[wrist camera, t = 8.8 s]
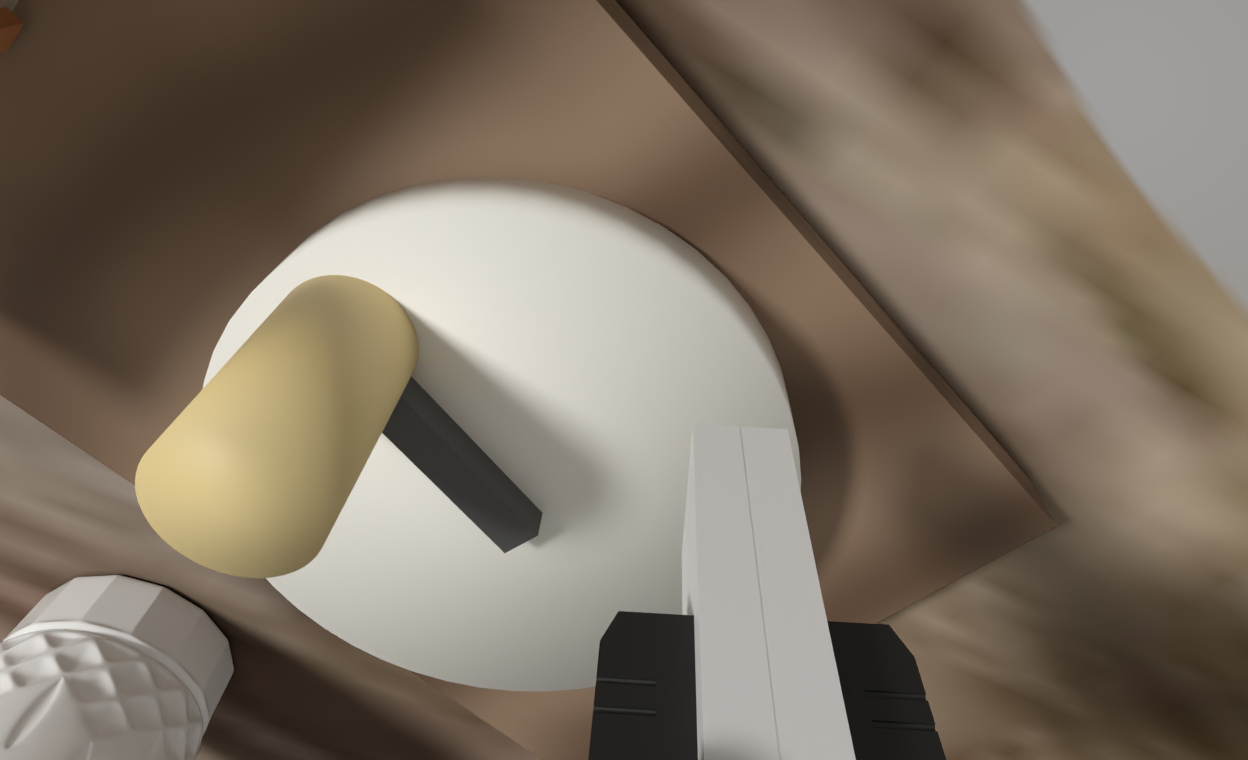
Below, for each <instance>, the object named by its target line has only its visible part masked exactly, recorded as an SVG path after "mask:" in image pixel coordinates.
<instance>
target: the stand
mask: <svg viewBox="0 0 1248 760" xmlns="http://www.w3.org/2000/svg"><path fill="white" fill-rule="evenodd" d="M464 177H507V178H516V179H525V180H534V181H543V182H548V183H552V184H556V185H560V186H564V187H569V188H573V189H577V190H581V191H585V192H588V193H591V194H594V195H596V196H599V197H601V198H604V199H607V200H609V201H612V202H615V203H617V204H620V205H623V206H625V207H628V208H629V209H631V210H633V211H635V212H637V213H639V214H641V215H643V216H644V217H646V218H648V219H650V220H652V221H654V222H656V223H658V224H660V225H661V226H663V227H665V228H666V229H668V230H669V231H671V232H672V233H673V234H675V235H676V236H678V237H679V238H680V239H682V240H683V241H685V242H686V243H687V244H689V245H690V246H692V247H693V248H695V249H696V250H697V251H698V252H699V253H701V254H702V255H703V256H704V257H705V258H706V259H707V260H708V261H709V262H710V263H711V264H712V265H713V266H715V267H716V268H717V269H718V270H719V271H720V272H721V273H722V274H723V275H724V276H725V277H726V278H727V279H728V280H729V281H730V283H731V284H732V285H733V286H734V288H735V289H736V290H737V291H738V292H739V294H740V295H741V296H742V297H743V299H744V300H745V301H746V302H747V303H748V305H749V306H750V308H751V309H752V311H753V312H754V314H755V316H756V317H757V319H758V321H759V322H760V324H761V326H762V327H763V329H764V331H765V332H766V334H767V336H768V338H769V340H770V342H771V345H772V347H773V350H774V352H775V355H776V357H777V359H778V362H779V364H780V367H781V370H782V374H783V378H784V382H785V386H786V390H787V394H788V398H789V403H790V408H791V413H792V417H793V422H794V427H795V432H796V437H797V442H798V446H799V456H800V470H801V490H800V492H801V496H802V501H803V506H804V511H805V516H806V521H807V526H808V530H809V535H810V540H811V545H812V550H813V555H814V559H815V564H816V569H817V574H818V579H819V584H820V589H821V593H822V598H823V603H824V608H825V613H826V618H827V621H834V622H851V623H868V624H876V623H878V622H879V621H881V620H883V619H885V618H887V617H889V616H891V615H892V614H894V613H896V612H898V611H900V610H902V609H904V608H905V607H907V606H909V605H911V604H913V603H915V602H917V601H918V600H920V599H922V598H924V597H926V596H928V595H930V594H931V593H933V592H935V591H937V590H939V589H941V588H943V587H944V586H946V585H948V584H950V583H952V582H954V581H956V580H957V579H959V578H961V577H963V576H965V575H967V574H969V573H970V572H972V571H974V570H976V569H978V568H980V567H982V566H983V565H985V564H987V563H989V562H991V561H993V560H995V559H996V558H998V557H1000V556H1002V555H1004V554H1006V553H1008V552H1009V551H1011V550H1013V549H1015V548H1017V547H1019V546H1021V545H1022V544H1024V543H1026V542H1028V541H1030V540H1032V539H1034V538H1035V537H1037V536H1039V535H1041V534H1043V533H1045V532H1047V531H1048V530H1050V529H1052V528H1054V527H1056V524H1055V522H1054V521H1053V519H1052V517H1051V515H1050V514H1049V512H1048V510H1047V508H1046V507H1045V505H1044V503H1043V501H1042V500H1041V498H1040V496H1039V494H1038V493H1037V491H1036V489H1035V487H1034V486H1033V484H1032V482H1031V480H1030V479H1029V478H1028V476H1027V475H1026V474H1025V473H1024V472H1023V471H1022V470H1021V468H1020V467H1019V466H1018V465H1017V464H1016V463H1015V461H1014V460H1013V459H1012V458H1011V457H1010V456H1009V455H1008V453H1007V452H1006V451H1005V450H1004V449H1003V448H1002V446H1001V445H1000V444H999V443H998V442H997V441H996V440H995V438H994V437H993V436H992V435H991V434H990V433H989V431H988V430H987V429H986V428H985V427H984V426H983V425H982V423H981V422H980V421H979V420H978V419H977V418H976V416H975V415H974V414H973V413H972V412H971V411H970V410H969V408H968V407H967V406H966V405H965V404H964V403H963V401H962V400H961V399H960V398H959V397H958V396H957V394H956V393H955V392H954V391H953V390H952V389H951V388H950V386H949V385H948V384H947V383H946V382H945V381H944V379H943V378H942V377H941V376H940V375H939V374H938V373H937V371H936V370H935V369H934V368H933V367H932V366H931V364H930V363H929V362H928V361H927V360H926V359H925V358H924V356H923V355H922V354H921V353H920V352H919V351H918V349H917V348H916V347H915V346H914V345H913V344H912V343H911V341H910V340H909V339H908V338H907V337H906V336H905V334H904V333H903V332H902V331H901V330H900V329H899V328H898V326H897V325H896V324H895V323H894V322H893V321H892V319H891V318H890V317H889V316H888V315H887V314H886V313H885V311H884V310H883V309H882V308H881V307H880V306H879V304H878V303H877V302H876V301H875V300H874V299H873V298H872V296H871V295H870V294H869V293H868V292H867V291H866V289H865V288H864V287H863V286H862V285H861V284H860V282H859V281H858V280H857V279H856V278H855V277H854V276H853V274H852V273H851V272H850V271H849V270H848V269H847V267H846V266H845V265H844V264H843V263H842V262H841V261H840V259H839V258H838V257H837V256H836V255H835V254H834V252H833V251H832V250H831V249H830V248H829V247H828V246H827V244H826V243H825V242H824V241H823V240H822V239H821V237H820V236H819V235H818V234H817V233H816V232H815V231H814V229H813V228H812V227H811V226H810V225H809V224H808V222H807V221H806V220H805V219H804V218H803V217H802V216H801V214H800V213H799V212H798V211H797V210H796V209H795V207H794V206H793V205H792V204H791V203H790V202H789V201H788V199H787V198H786V197H785V196H784V195H783V194H782V192H781V191H780V190H779V189H778V188H777V187H776V185H775V184H774V183H773V182H772V181H771V180H770V179H769V177H768V176H767V175H766V174H765V173H764V172H763V170H762V169H761V168H760V167H759V166H758V165H757V164H756V162H755V161H754V160H753V159H752V158H751V157H750V155H749V154H748V153H747V152H746V151H745V150H744V149H743V147H742V146H741V145H740V144H739V143H738V142H737V140H736V139H735V138H734V137H733V136H732V135H731V134H730V132H729V131H728V130H727V129H726V128H725V127H724V125H723V124H722V123H721V122H720V121H719V120H718V119H717V117H716V116H715V115H714V114H713V113H712V112H711V110H710V109H709V108H708V107H707V106H706V105H705V104H704V102H703V101H702V100H701V99H700V98H699V97H698V95H697V94H696V93H695V92H694V91H693V90H692V89H691V87H690V86H689V85H688V84H687V83H686V82H685V80H684V79H683V78H682V77H681V76H680V75H679V73H678V72H677V71H676V70H675V69H674V68H673V67H672V65H671V64H670V63H669V62H668V61H667V60H666V58H665V57H664V56H663V55H662V54H661V53H660V52H659V50H658V49H657V48H656V47H655V46H654V45H653V43H652V42H651V41H650V40H649V39H648V38H647V37H646V35H645V34H644V33H643V32H642V31H641V30H640V28H639V27H638V26H637V25H636V24H635V23H634V22H633V20H632V19H631V18H630V17H629V16H628V15H627V13H626V12H625V11H624V10H623V9H622V8H621V7H620V5H619V4H618V3H617V2H616V1H615V0H0V395H1V396H3V397H4V398H6V399H7V400H9V401H10V402H12V403H13V404H15V405H16V406H18V407H19V408H21V409H22V410H24V411H25V412H27V413H28V414H30V415H31V416H33V417H34V418H36V419H37V420H39V421H40V422H42V423H43V424H45V425H46V426H47V427H49V428H50V429H52V430H53V431H55V432H56V433H58V434H59V435H61V436H62V437H64V438H65V439H67V440H68V441H70V442H71V443H73V444H74V445H76V446H77V447H79V448H80V449H82V450H83V451H85V452H86V453H88V454H89V455H91V456H92V457H93V458H95V459H96V460H98V461H99V462H101V463H102V464H104V465H105V466H107V467H108V468H110V469H111V470H113V471H114V472H116V473H117V474H119V475H120V476H122V477H123V478H125V479H126V480H128V481H129V482H131V483H132V484H134V485H135V476H136V471H137V467H138V464H139V463H140V461H141V459H142V457H143V455H144V454H145V453H146V452H147V450H148V449H149V448H150V447H151V446H152V445H153V444H154V443H155V441H156V440H157V439H158V438H159V437H160V436H161V435H162V434H163V433H164V431H165V430H166V429H167V428H168V427H169V426H170V425H171V424H172V423H173V421H174V420H175V419H176V418H177V417H178V416H179V415H180V414H181V413H182V411H183V410H184V409H185V408H186V407H187V406H188V405H189V404H190V403H191V401H192V400H193V399H194V398H195V397H196V396H197V395H198V394H199V393H200V392H201V390H202V389H203V383H204V380H205V376H206V373H207V370H208V367H209V363H210V360H211V357H212V354H213V351H214V349H215V347H216V345H217V343H218V341H219V339H220V338H221V336H222V334H223V332H224V330H225V328H226V326H227V324H228V322H229V321H230V319H231V318H232V317H233V315H234V314H235V313H236V312H237V310H238V309H239V308H240V306H241V305H242V304H243V302H244V301H245V300H246V299H247V297H248V296H249V295H250V293H251V292H252V291H253V290H254V289H255V288H256V287H257V286H258V285H259V284H260V283H261V282H262V281H263V280H264V279H265V278H266V277H267V276H268V275H269V274H270V273H271V272H272V271H273V270H274V269H275V268H276V267H277V266H278V265H279V264H280V263H281V262H282V261H283V260H284V259H285V258H286V257H287V256H288V255H289V254H290V253H291V252H292V251H293V250H294V249H296V248H297V247H298V246H299V245H300V244H301V243H302V242H303V241H304V240H305V239H306V238H307V237H309V236H310V235H311V234H312V233H313V232H314V231H315V230H317V229H318V228H320V227H322V226H323V225H325V224H326V223H328V222H329V221H331V220H332V219H334V218H335V217H337V216H338V215H340V214H341V213H343V212H344V211H346V210H348V209H350V208H353V207H355V206H357V205H359V204H361V203H364V202H366V201H368V200H370V199H372V198H374V197H377V196H379V195H382V194H385V193H388V192H392V191H395V190H398V189H402V188H405V187H409V186H412V185H415V184H420V183H426V182H433V181H440V180H446V179H453V178H464ZM411 672H413V671H411ZM413 673H414V674H416V675H417V676H419V677H420V678H421V679H423V680H424V681H426V682H427V683H429V684H430V685H432V686H433V687H435V688H436V689H438V690H439V691H441V692H442V693H444V694H445V695H447V696H448V697H450V698H451V699H453V700H454V701H456V702H457V703H459V704H460V705H462V706H463V707H465V708H466V709H468V710H469V711H470V712H472V713H473V714H475V715H476V716H478V717H479V718H481V719H482V720H484V721H485V722H487V723H488V724H490V725H491V726H493V727H494V728H496V729H497V730H499V731H500V732H502V733H503V734H505V735H506V736H508V737H509V738H511V739H512V740H514V741H515V742H516V743H518V744H519V745H521V746H522V747H524V748H525V749H527V750H528V751H530V752H531V753H533V754H534V755H536V756H537V757H539V758H540V759H542V760H588V757H589V747H590V737H591V727H592V716H593V707H594V696H595V687H589V688H583V689H576V690H562V691H547V692H535V691H507V690H498V689H488V688H479V687H474V686H469V685H464V684H459V683H453V682H448V681H444V680H441V679H437V678H434V677H430V676H427V675H423V674H420V673H416V672H413Z"/></svg>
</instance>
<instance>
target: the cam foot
mask: <svg viewBox="0 0 1248 760" xmlns="http://www.w3.org/2000/svg"><path fill="white" fill-rule="evenodd" d="M693 424H700V425H719V426H738V427H757V428H776V429H788V433H789V438H790V443H791V448H792V453H793V458H794V463H795V467H796V472H797V477H798V482H799V487H800V490H801V470H800V456H799V446H798V442H797V437H796V432H795V427H794V422H793V417H792V413H791V408H790V403H789V398H788V394H787V390H786V386H785V382H784V378H783V374H782V370H781V367H780V364H779V362H778V359H777V357H776V355H775V352H774V350H773V347H772V345H771V342H770V340H769V338H768V336H767V334H766V332H765V331H764V329H763V327H762V326H761V324H760V322H759V321H758V319H757V317H756V316H755V314H754V312H753V311H752V309H751V308H750V306H749V305H748V303H747V302H746V301H745V300H744V299H743V297H742V296H741V295H740V294H739V292H738V291H737V290H736V289H735V288H734V286H733V285H732V284H731V283H730V281H729V280H728V279H727V278H726V277H725V276H724V275H723V274H722V273H721V272H720V271H719V270H718V269H717V268H716V267H715V266H713V265H712V264H711V263H710V262H709V261H708V260H707V259H706V258H705V257H704V256H703V255H702V254H701V253H699V252H698V251H697V250H696V249H695V248H693V247H692V246H690V245H689V244H687V243H686V242H685V241H683V240H682V239H680V238H679V237H678V236H676V235H675V234H673V233H672V232H671V231H669V230H668V229H666V228H665V227H663V226H661V225H660V224H658V223H656V222H654V221H652V220H650V219H648V218H646V217H644V216H643V215H641V214H639V213H637V212H635V211H633V210H631V209H629V208H628V207H625V206H623V205H620V204H617V203H615V202H612V201H609V200H607V199H604V198H601V197H599V196H596V195H594V194H591V193H588V192H585V191H581V190H577V189H573V188H569V187H564V186H560V185H556V184H552V183H548V182H543V181H534V180H525V179H516V178H507V177H464V178H453V179H446V180H440V181H433V182H426V183H420V184H415V185H412V186H409V187H405V188H402V189H398V190H395V191H392V192H388V193H385V194H382V195H379V196H377V197H374V198H372V199H370V200H368V201H366V202H364V203H361V204H359V205H357V206H355V207H353V208H350V209H348V210H346V211H344V212H343V213H341V214H340V215H338V216H337V217H335V218H334V219H332V220H331V221H329V222H328V223H326V224H325V225H323V226H322V227H320V228H318V229H317V230H315V231H314V232H313V233H312V234H311V235H310V236H309V237H307V238H306V239H305V240H304V241H303V242H302V243H301V244H300V245H299V246H298V247H297V248H296V249H294V250H293V251H292V252H291V253H290V254H289V255H288V256H287V257H286V258H285V259H284V260H283V261H282V262H281V263H280V264H279V265H278V266H277V267H276V268H275V269H274V270H273V271H272V272H271V273H270V274H269V275H268V276H267V277H266V278H265V279H264V280H263V281H262V282H261V283H260V284H259V285H258V286H257V287H256V288H255V289H254V290H253V291H252V292H251V293H250V295H249V296H248V297H247V299H246V300H245V301H244V302H243V304H242V305H241V306H240V308H239V309H238V310H237V312H236V313H235V314H234V315H233V317H232V318H231V319H230V321H229V322H228V324H227V326H226V328H225V330H224V332H223V334H222V336H221V338H220V339H219V341H218V343H217V345H216V347H215V349H214V351H213V354H212V357H211V360H210V363H209V367H208V370H207V373H206V376H205V380H204V383H203V389H202V390H201V392H200V393H199V394H198V395H197V396H196V397H195V398H194V399H193V400H192V401H191V403H190V404H189V405H188V406H187V407H186V408H185V409H184V410H183V411H182V413H181V414H180V415H179V416H178V417H177V418H176V419H175V420H174V421H173V423H172V424H171V425H170V426H169V427H168V428H167V429H166V430H165V431H164V433H163V434H162V435H161V436H160V437H159V438H158V439H157V440H156V441H155V443H154V444H153V445H152V446H151V447H150V448H149V449H148V450H147V452H146V453H145V454H144V455H143V457H142V459H141V461H140V463H139V464H138V467H137V471H136V476H135V489H136V495H137V499H138V503H139V505H140V508H141V510H142V512H143V514H144V516H145V517H146V519H147V521H148V522H149V524H150V525H151V526H152V528H153V529H154V530H155V531H156V532H157V533H158V535H159V536H160V537H161V538H162V539H163V540H164V541H165V542H167V543H168V544H169V545H170V546H171V547H172V548H174V549H175V550H177V551H178V552H179V553H181V554H182V555H184V556H185V557H187V558H189V559H190V560H192V561H194V562H196V563H198V564H200V565H202V566H204V567H207V568H209V569H212V570H215V571H218V572H221V573H224V574H228V575H233V576H238V577H246V578H266V579H267V580H268V581H269V582H270V583H271V584H272V585H273V587H275V588H276V589H277V590H278V591H279V592H280V593H281V594H282V595H283V596H284V597H286V598H287V599H288V600H289V601H290V602H291V603H292V604H293V605H294V606H295V607H297V608H298V609H299V610H300V611H302V612H303V613H304V614H306V615H307V616H308V617H310V618H311V619H312V620H314V621H315V622H317V623H318V624H319V625H321V626H322V627H323V628H325V629H326V630H328V631H330V632H331V633H333V634H335V635H336V636H338V637H340V638H341V639H343V640H345V641H346V642H348V643H350V644H351V645H353V646H355V647H357V648H359V649H361V650H363V651H365V652H367V653H369V654H371V655H374V656H376V657H378V658H380V659H382V660H384V661H387V662H389V663H392V664H395V665H397V666H400V667H402V668H405V669H408V670H410V671H413V672H416V673H420V674H423V675H427V676H430V677H434V678H437V679H441V680H444V681H448V682H453V683H459V684H464V685H469V686H474V687H479V688H488V689H498V690H507V691H535V692H547V691H562V690H576V689H583V688H589V687H595V685H596V675H597V665H598V655H599V644H600V640H601V638H602V636H603V635H604V633H605V632H606V630H607V628H608V627H609V625H610V624H611V622H612V621H613V619H614V617H615V616H616V614H617V613H618V611H626V612H643V613H660V614H677V615H682V544H683V533H684V521H685V509H686V497H687V486H688V474H689V462H690V450H691V438H692V427H693Z"/></svg>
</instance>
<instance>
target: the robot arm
mask: <svg viewBox="0 0 1248 760" xmlns="http://www.w3.org/2000/svg"><path fill="white" fill-rule="evenodd" d="M925 695H926V693H925V690H924V687H923V683H922V680H921V677H920V674H919V670H918V667H917V664H916V661H915V657H914V656H913V655H912V653H911V652H910V651H909V650H908V648H907V647H906V646H905V645H904V643H903V642H902V641H901V640H900V638H899V637H898V636H897V635H896V633H895V632H894V631H893V630H892V628H891V627H890V626H889V625H885V624H868V623H851V622H834V621H827V618H826V613H825V608H824V603H823V598H822V593H821V589H820V584H819V579H818V574H817V569H816V564H815V559H814V555H813V550H812V545H811V540H810V535H809V530H808V526H807V521H806V516H805V511H804V506H803V501H802V496H801V492H800V487H799V482H798V477H797V472H796V467H795V463H794V458H793V453H792V448H791V443H790V438H789V433H788V429H776V428H757V427H738V426H719V425H700V424H693V427H692V438H691V450H690V462H689V474H688V486H687V497H686V509H685V521H684V533H683V544H682V615H677V614H660V613H643V612H626V611H618V613H617V614H616V616H615V617H614V619H613V621H612V622H611V624H610V625H609V627H608V628H607V630H606V632H605V633H604V635H603V636H602V638H601V640H600V644H599V655H598V665H597V675H596V685H595V696H594V707H593V716H592V727H591V737H590V747H589V757H588V760H946V758H945V755H944V751H943V748H942V745H941V742H940V738H939V735H938V732H936V731H935V722H934V719H933V716H932V712H931V709H930V706H929V703H928V701H926V698H925Z"/></svg>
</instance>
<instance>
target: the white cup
mask: <svg viewBox="0 0 1248 760" xmlns="http://www.w3.org/2000/svg"><path fill="white" fill-rule="evenodd" d="M233 672H234V666H233V661H232V656H231V651H230V647H229V642H228V639H227V638H226V637H225V635H224V634H223V633H222V632H221V631H220V629H219V628H218V627H217V626H216V625H215V623H214V622H213V621H212V620H211V619H210V617H209V616H208V615H207V614H206V613H205V612H204V611H203V610H202V609H200V608H199V607H197V606H196V605H194V604H192V603H191V602H189V601H187V600H186V599H184V598H182V597H181V596H179V595H177V594H176V593H174V592H172V591H171V590H169V589H167V588H165V587H163V586H160V585H156V584H152V583H149V582H145V581H141V580H137V579H134V578H130V577H126V576H122V575H104V576H86V577H76V578H74V579H72V580H71V581H69V582H67V583H65V584H64V585H62V586H60V587H58V588H57V589H55V590H53V591H51V592H50V593H48V594H47V595H45V596H44V597H43V598H42V599H41V601H40V602H39V603H38V604H37V605H36V606H35V607H34V608H33V609H32V610H31V611H30V612H29V613H28V614H27V616H26V617H25V618H24V619H23V620H22V621H21V622H20V623H19V624H18V625H17V626H16V627H15V628H14V629H13V631H12V632H11V633H10V634H9V635H8V636H7V637H6V638H5V639H4V640H3V642H1V643H0V760H195V759H196V757H197V755H198V754H199V751H200V746H201V741H202V737H203V735H204V733H205V731H206V729H207V726H208V724H209V721H210V719H211V717H212V715H213V713H214V711H215V709H216V707H217V705H218V703H219V701H220V699H221V697H222V695H223V693H224V691H225V689H226V687H227V685H228V683H229V681H230V679H231V676H232V674H233Z"/></svg>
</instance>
